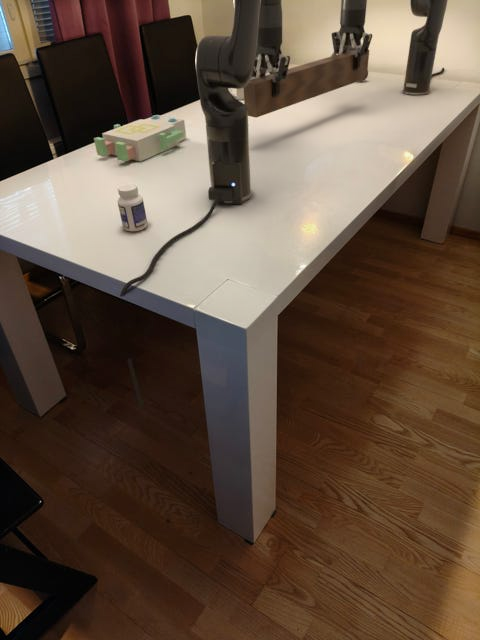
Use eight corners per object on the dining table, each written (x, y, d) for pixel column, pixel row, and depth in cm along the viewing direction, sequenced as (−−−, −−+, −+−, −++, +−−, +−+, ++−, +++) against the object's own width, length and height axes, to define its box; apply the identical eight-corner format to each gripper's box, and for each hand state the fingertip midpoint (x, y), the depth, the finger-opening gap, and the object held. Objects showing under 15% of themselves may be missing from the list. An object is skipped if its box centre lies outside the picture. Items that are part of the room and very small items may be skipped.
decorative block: (146, 110, 155) (194, 118, 145) (149, 131, 159) (196, 140, 149) (83, 133, 139) (132, 144, 129) (88, 156, 143) (136, 168, 133)
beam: (256, 117, 133) (255, 83, 128) (244, 115, 136) (243, 81, 131) (366, 78, 163) (369, 49, 158) (355, 77, 165) (357, 48, 160)
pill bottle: (149, 220, 107) (142, 181, 102) (146, 231, 103) (138, 191, 98) (125, 221, 107) (116, 182, 102) (121, 232, 103) (112, 193, 98)
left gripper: (298, 24, 124) (296, 96, 134) (257, 21, 132) (259, 89, 143) (278, 28, 120) (278, 101, 130) (238, 25, 128) (241, 94, 139)
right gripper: (381, 6, 145) (374, 69, 156) (341, 4, 153) (337, 65, 164) (367, 9, 141) (361, 74, 151) (326, 7, 149) (324, 69, 160)
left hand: (268, 95), depth 136 cm, fingers closed on beam, 4 cm apart
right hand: (348, 69), depth 158 cm, fingers closed on beam, 4 cm apart
